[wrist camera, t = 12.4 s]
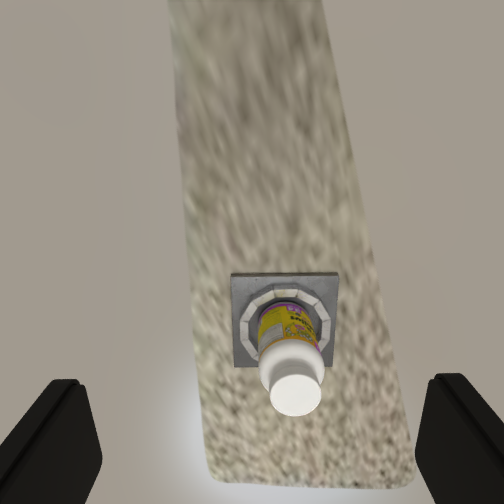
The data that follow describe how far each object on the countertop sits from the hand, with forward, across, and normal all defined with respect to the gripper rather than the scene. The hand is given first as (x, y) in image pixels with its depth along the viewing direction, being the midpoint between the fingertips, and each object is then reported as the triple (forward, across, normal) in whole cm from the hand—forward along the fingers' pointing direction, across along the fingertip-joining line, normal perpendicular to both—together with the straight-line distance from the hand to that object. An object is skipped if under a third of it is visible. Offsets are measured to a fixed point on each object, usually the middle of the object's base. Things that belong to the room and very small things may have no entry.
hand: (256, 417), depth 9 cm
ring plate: (+31, -3, +16) cm, 35 cm away
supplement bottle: (+30, -3, +16) cm, 34 cm away
